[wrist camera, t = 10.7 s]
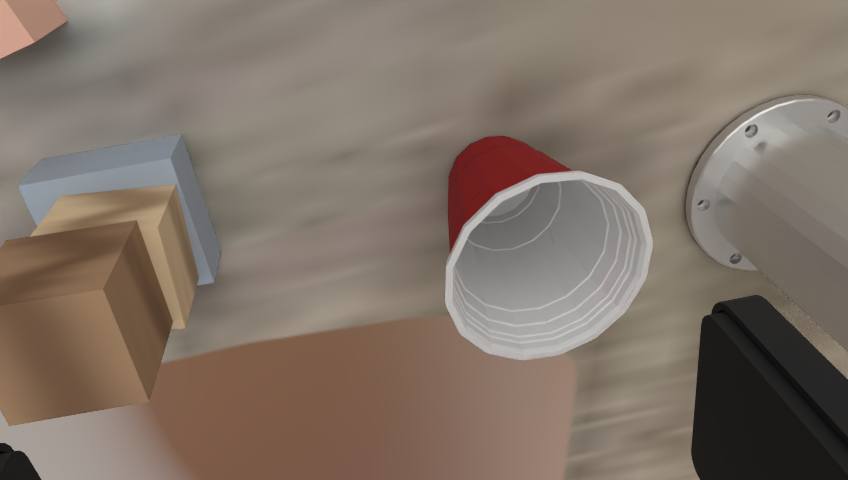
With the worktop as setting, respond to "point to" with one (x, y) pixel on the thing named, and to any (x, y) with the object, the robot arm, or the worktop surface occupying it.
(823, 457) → the robot arm
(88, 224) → the oak block
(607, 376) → the worktop surface
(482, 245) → the plastic cup
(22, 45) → the terracotta block
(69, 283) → the walnut cube
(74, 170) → the base block
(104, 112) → the worktop surface
